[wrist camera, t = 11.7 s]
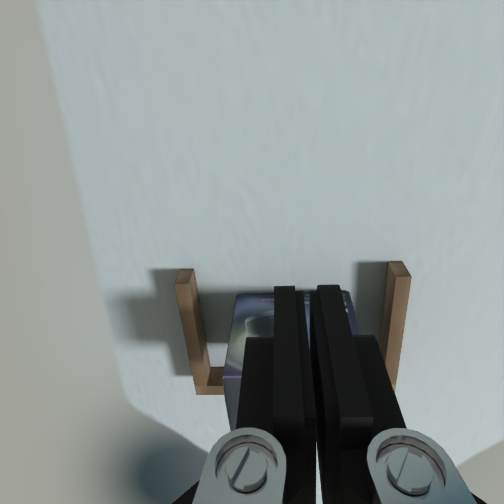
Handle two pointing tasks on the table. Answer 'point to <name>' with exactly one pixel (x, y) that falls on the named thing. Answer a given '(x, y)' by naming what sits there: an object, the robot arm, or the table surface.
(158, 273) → the table surface
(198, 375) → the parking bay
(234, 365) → the small box
